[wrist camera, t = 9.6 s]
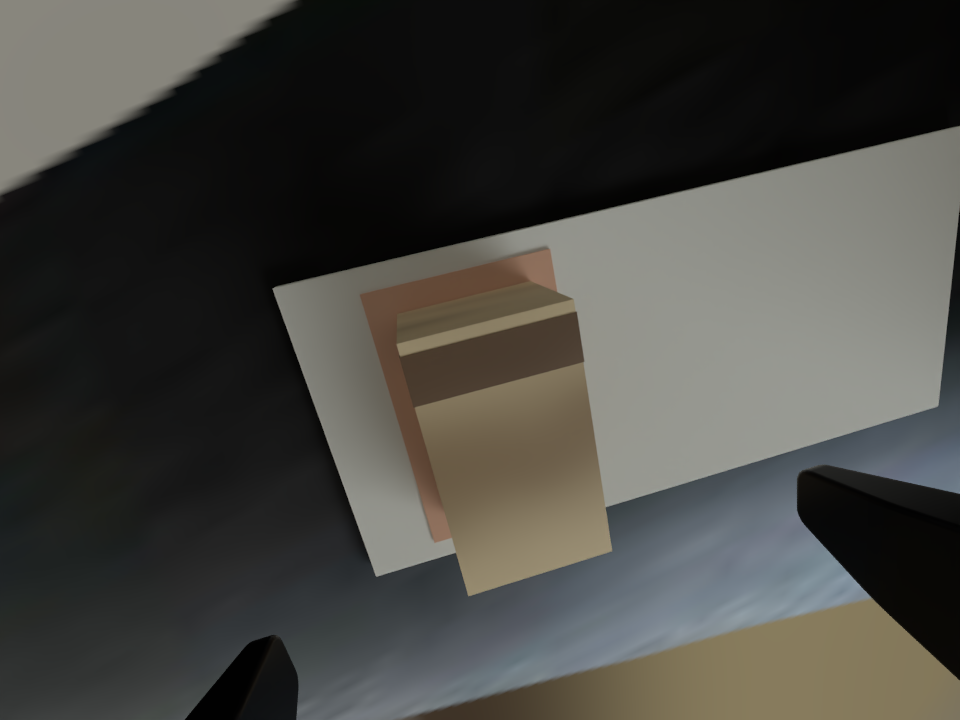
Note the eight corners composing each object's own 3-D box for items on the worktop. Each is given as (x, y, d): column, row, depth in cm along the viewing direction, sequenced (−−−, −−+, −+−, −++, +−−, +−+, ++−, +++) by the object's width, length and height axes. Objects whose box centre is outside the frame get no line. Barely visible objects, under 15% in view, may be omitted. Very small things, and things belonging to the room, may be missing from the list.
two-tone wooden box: (567, 481, 16) (613, 551, 12) (452, 515, 15) (468, 597, 12) (531, 280, 13) (575, 298, 10) (396, 314, 13) (395, 344, 10)
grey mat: (950, 127, 15) (971, 123, 14) (924, 401, 18) (940, 407, 18) (276, 286, 13) (271, 289, 12) (376, 566, 16) (376, 578, 15)
